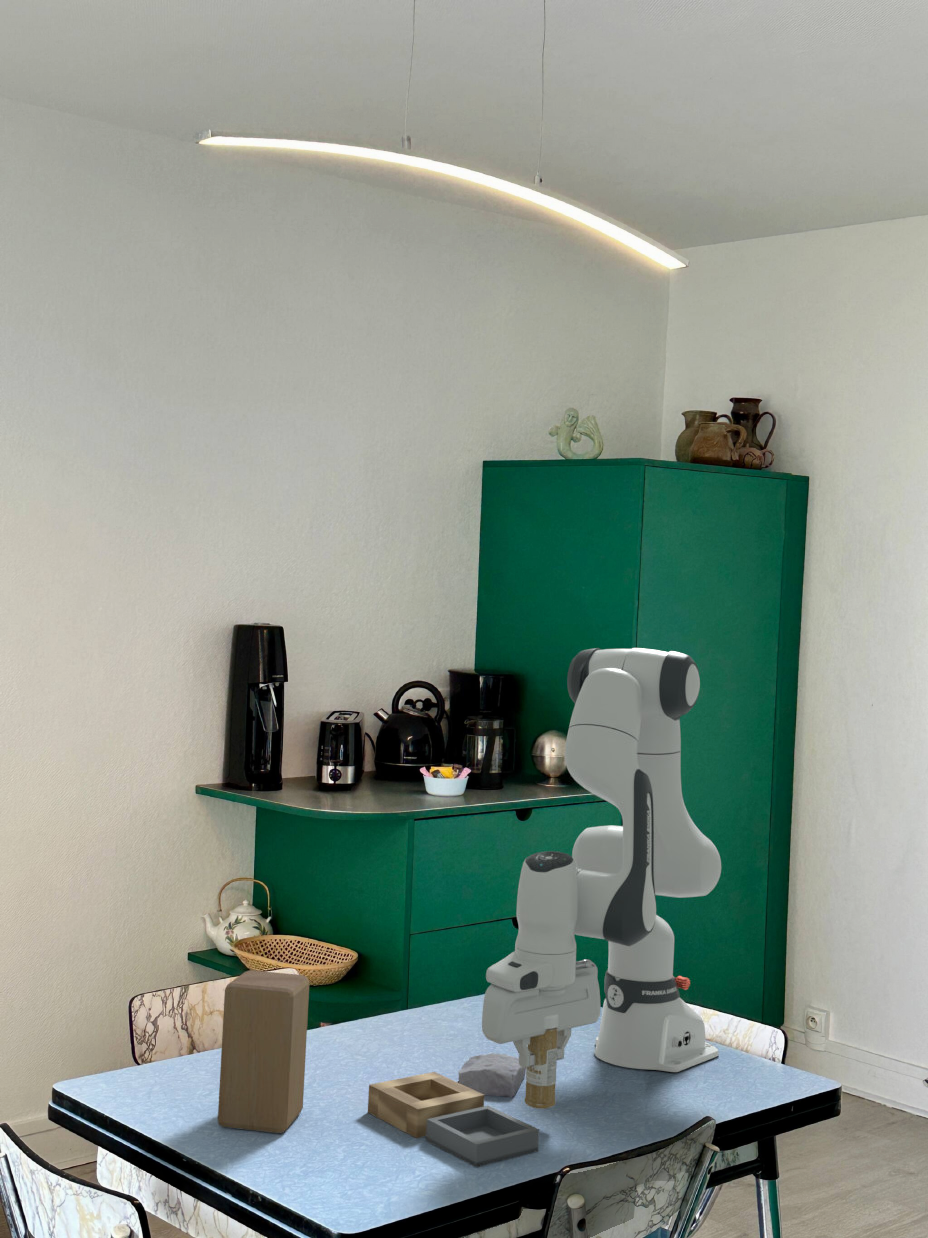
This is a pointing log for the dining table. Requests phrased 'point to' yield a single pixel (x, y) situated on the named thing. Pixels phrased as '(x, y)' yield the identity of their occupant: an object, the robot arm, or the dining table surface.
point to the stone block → (492, 1074)
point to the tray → (482, 1135)
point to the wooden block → (263, 1051)
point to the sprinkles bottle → (543, 1066)
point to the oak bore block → (420, 1101)
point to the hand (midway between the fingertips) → (541, 1062)
